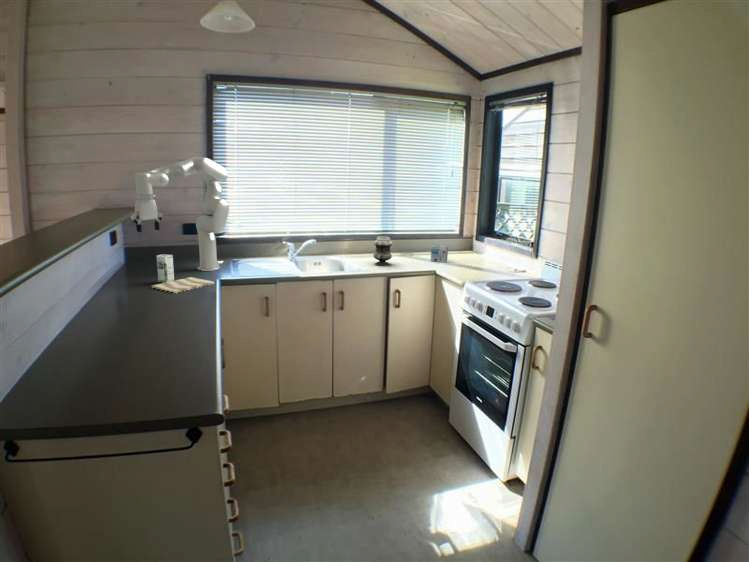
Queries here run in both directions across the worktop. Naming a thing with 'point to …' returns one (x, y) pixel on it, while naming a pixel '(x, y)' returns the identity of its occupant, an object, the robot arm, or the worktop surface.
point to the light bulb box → (439, 253)
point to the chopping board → (183, 284)
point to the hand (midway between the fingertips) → (148, 230)
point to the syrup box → (165, 268)
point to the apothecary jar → (382, 250)
